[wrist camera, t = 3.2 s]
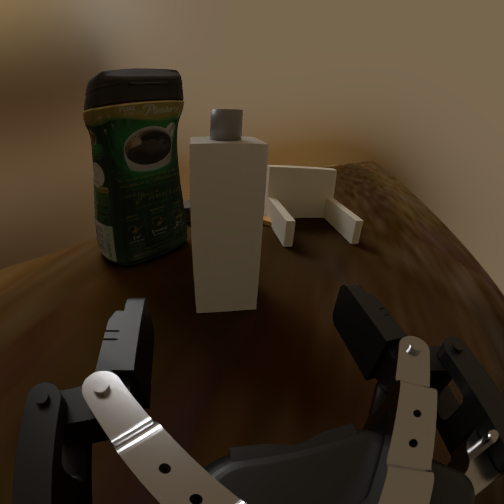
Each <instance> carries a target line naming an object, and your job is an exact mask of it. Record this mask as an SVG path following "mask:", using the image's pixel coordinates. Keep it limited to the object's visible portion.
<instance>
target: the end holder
mask: <svg viewBox="0 0 504 504" xmlns="http://www.w3.org/2000/svg"><path fill="white" fill-rule="evenodd" d="M336 175H337V170H335V169H332V168H319V167H303V166H280V165H268V166H267V181H266V194H265V208H264V216H266V217H269V219H270V221H271V222H272V224H271V227H272V229H273V230H274V232H275V234H276V235H277V237H278V239H279V240H280V242H281V243H282V245H283V247H292V245H293V237H294V229H295V220H294V219H293V218H325V219H326V220H327V221H328V222H329V223H330V224H331V225H332V226H333V227H334V228H335V229H336V230H337V231H338V232H339V233H340V234H341V235H342V236H343V237H344V238H345V239H346V240H347V241H348V242H349V243H350V244H358V242H359V238H360V233H361V229H362V224H363V220H361V219H360V218H359V217H358V216H356V215H355V214H354V213H352V212H351V211H350V210H348V209H347V208H346V207H345V206H343V205H342V204H341V203H339V202H338V201H336V200H335V199H334V198H333V196H334V189H335V182H336Z"/></svg>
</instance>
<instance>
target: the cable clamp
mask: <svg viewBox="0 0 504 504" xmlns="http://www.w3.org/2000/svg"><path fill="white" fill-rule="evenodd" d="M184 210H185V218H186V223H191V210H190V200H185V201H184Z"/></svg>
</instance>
